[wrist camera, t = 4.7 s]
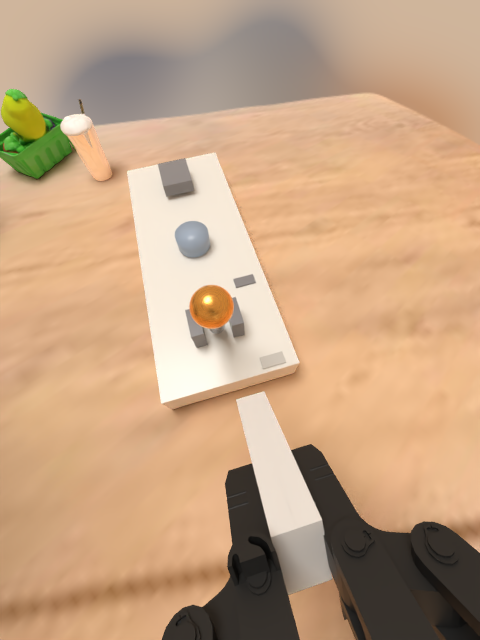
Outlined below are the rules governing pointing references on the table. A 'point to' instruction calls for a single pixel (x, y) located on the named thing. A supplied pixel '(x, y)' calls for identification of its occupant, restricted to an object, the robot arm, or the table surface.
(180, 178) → the rocker
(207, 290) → the lever
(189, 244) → the button
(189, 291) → the panel
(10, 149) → the fruit basket
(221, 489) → the table surface
